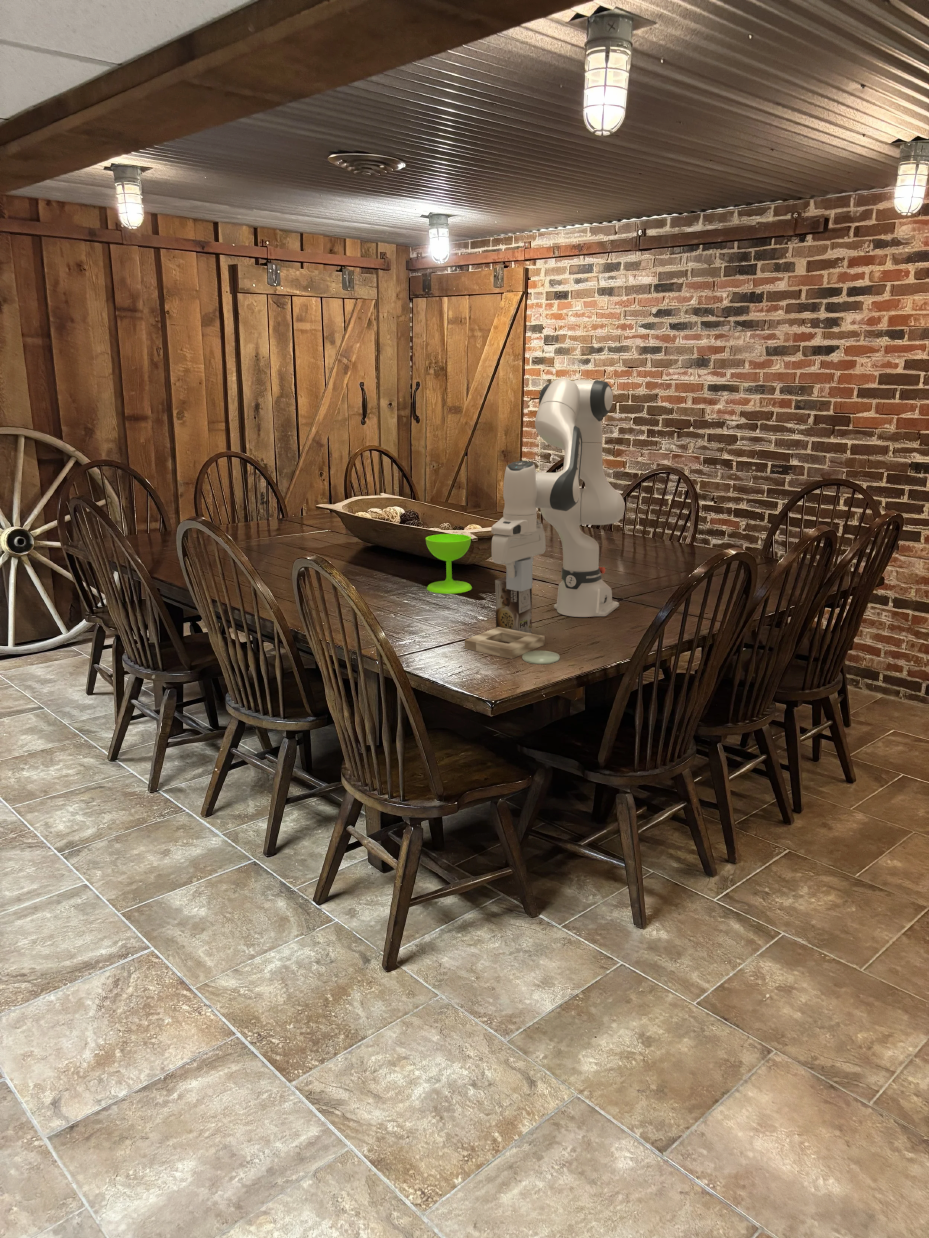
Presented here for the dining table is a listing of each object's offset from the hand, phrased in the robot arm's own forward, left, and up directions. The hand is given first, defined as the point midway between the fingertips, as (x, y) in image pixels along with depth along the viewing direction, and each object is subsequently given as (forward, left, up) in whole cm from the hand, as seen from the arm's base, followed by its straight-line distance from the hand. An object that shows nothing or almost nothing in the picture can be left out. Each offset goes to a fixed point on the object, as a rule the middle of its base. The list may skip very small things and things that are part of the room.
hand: (519, 575), depth 245 cm
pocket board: (-2, -6, -22) cm, 22 cm away
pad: (+1, +8, -22) cm, 23 cm away
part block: (0, 0, -4) cm, 4 cm away
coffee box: (-15, -12, -22) cm, 29 cm away
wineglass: (-47, -62, -22) cm, 81 cm away
